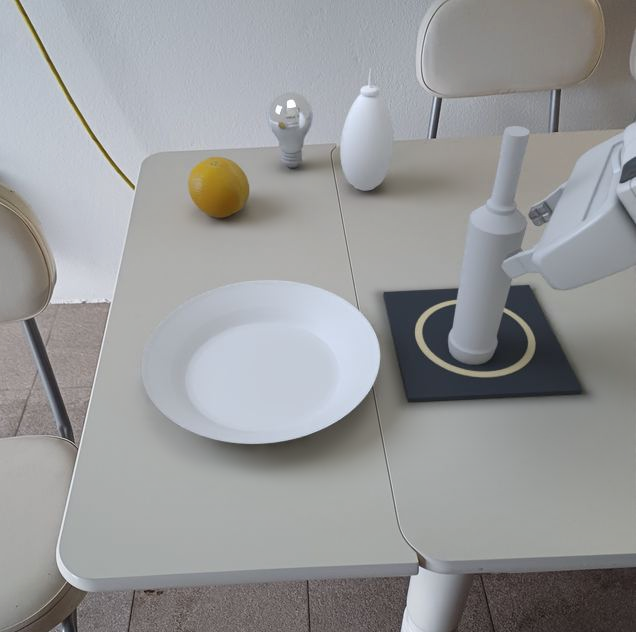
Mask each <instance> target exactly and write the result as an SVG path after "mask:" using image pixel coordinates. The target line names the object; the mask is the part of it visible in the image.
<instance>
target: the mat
mask: <svg viewBox="0 0 636 632" xmlns="http://www.w3.org/2000/svg"><path fill="white" fill-rule="evenodd" d="M458 290H459V287H456V288H454V287H453V288H433V289H432V288H431V289H417V290H416V289H415V290H413V289H412V290H394V291H391V290H390V291H383V293H382V296H383V301H384V305H385V309H386V313H387V318H388V322H389V327H390V330H391V335H392V340H393V343H394V349H395V352H396V353H395V354H396V358H397V361H398V366H399V370H400V375H401V378H402V383H403V388H404V392H405V396H406V401H407V403H414V402H415V403H416V402H417V403H418V402H435V401H459V400H474V399H475V400H479V399H496V398H497V399H498V398H501V399H502V398H519V397H520V398H521V397H538V396H539V397H541V396H562V395H580V394H582V393H583V390H584V389H583V388H582V385H581V384H580V383H581V382H579V379H578V378H577V376H576V374H575V372H574V370H573V368H572V366H571V364H570V362H569V361H568V358H567V356H566V354H565V351H564V350H563V348H562V346H561V345H560V343H559V339H557V337H556V334H555V332H554V331H553V329H552V327H551V325H550V323H549V320H548V319H547V317H546V315H545V313H544V311H543V309H542V307H541V305H540V303H539V301H538V299H537V297H536V295H535V294H534V291H533V289H532V287H531V286H530V284H517V285H510V289H509V292H508V296H507V300H506V303H505V307H504V311H503V314H502V318H501V322H500V325H499V329H498V333H497V341H498V343H497V347H496V349H495V352H494V354H493V356H492V358H491V359H490V360H488V361H487V362H485V363H482V364H478V365H471V364H466V363H462V362H460V361H458V360H457V359H455V358H454V357H453V356H452V355H451V353H450V352H449V345H448V337H449V333H450V331H451V329H452V328H453V322H454V316H455V309H456V303H457V296H458Z"/></svg>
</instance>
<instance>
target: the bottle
mask: <svg viewBox="0 0 636 632" xmlns="http://www.w3.org/2000/svg"><path fill="white" fill-rule="evenodd" d="M530 133H531V131H530V130H529V129H528V128H527V127H523V126H519V125H512V126H507V127H505V129H504V130H503V135H502V141H501V146H500V150H499V151H500V153H499V159H498V162H497V163H498V164H497V169H496V173H495V178H494V182H493V189H492V193H491V197H490V198H488V199H487V200H486V203H485V204H483V205H481V206H480V207H478V208H476V209H474V210H472V212H471V213H470V215H469V217H468V218H469V219H468V226H467V232H466V238H465V244H464V249H463V250H464V252H463V258H462V264H461V271H460V277H459V283H458V288H459V290H458V296H457V303H456V309H455V316H454V322H453V328H452V329H451V331H450V333H449V337H448V345H449V352H450V353H451V355H452V356H453V357H454V358H455V359H457V360H458V361H460V362H462V363H466V364H471V365H478V364H482V363H485V362H487V361H488V360H490V359H491V358H492V356H493V354H494V352H495V349H496V347H497V343H498V341H497V333H498V329H499V325H500V322H501V318H502V314H503V311H504V307H505V303H506V300H507V296H508V292H509V289H510V286H512V285H511V284H512V282H513V278H510V277H508V275H507V274H506V273H505V271H504V270H503V269H502V263H503V261H504V260H505V258H506V256H507V255H508V254H510V253H513V252H514V251H516V250H518V249H520V248H521V249H522V244H523V240H524V237H525V233H526V231H527V226H528V220H527V217H526V216H525V215H524V214H523V213H522V212H521V211H520V210H519V209H518V204H517V201H515V197H516V193H517V188H518V184H519V181H520V180H519V179H520V175H521V170H522V165H523V160H524V156H525V155H526V150H527V146H528V142H529V138H530Z"/></svg>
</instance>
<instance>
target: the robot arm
mask: <svg viewBox="0 0 636 632" xmlns="http://www.w3.org/2000/svg"><path fill="white" fill-rule="evenodd" d="M527 216H528V218H529V219H530V220H531V221H532V223H533V225H534V226H536V227H540V226H543V225H545V224H546V227H545V228H544V231H543V233H542V235H541V237H540V240H539V241H538V242H537V243H534V245H533V246H532V248H530V249H526V250H523V248H522V247H521V248H520V249H518V250H516V251H514V252H513V253H510V254H508V255H507V256H506V258H505V260H504V261H503V263H502V269H503V270H504V271H505V273H506V274H507V275H508V277H510V278H512V279H517V278H518V277H521V276H523V275H526V274H528V273H529V274H537V273H538V274H540V275H541V277H542V278H543V279H544V281H545V282H546V283H547V285H548V286H549V287H550V288H551V289H553V290H555V291H556V290H557V291H570V290H571V291H572V290H575V289H577V288H580V287H583V286H586V285H589V284H593V283H594V282H598V281H600V280H604V279H606V278H608V277H610V276H613V275H616V274H618V273H621V272H623V271H626V270H628V269H630V268H633V267H635V266H636V121H634V122H632V123H631V124H628V125H627V126H626V127H625V129H624V131H622V132H620V133H618V134H616V135H614V136H612V137H609V138H608V139H606V140H604V141H602V142H600V143H598V144H597V145H595V146H593V147H591V148H590V149H589V150H587V151H585V152H584V153H583V154H582V155H581V156H580V157H578V159H577V160H576V162H575V164H574V167H573V170H572V171H571V174H570V176H569V178H568V180H566V181H565V182H563V183H561V184H560V185H559V186H558V187H557V188H555V190H553V191H552V192H551V193H549V194H548V195H547V196H546V197H545V198H543V199H541V200H539V201H537V202H536V203H534V204H532V205H531V207H530V210H529V212H528V215H527Z"/></svg>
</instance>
